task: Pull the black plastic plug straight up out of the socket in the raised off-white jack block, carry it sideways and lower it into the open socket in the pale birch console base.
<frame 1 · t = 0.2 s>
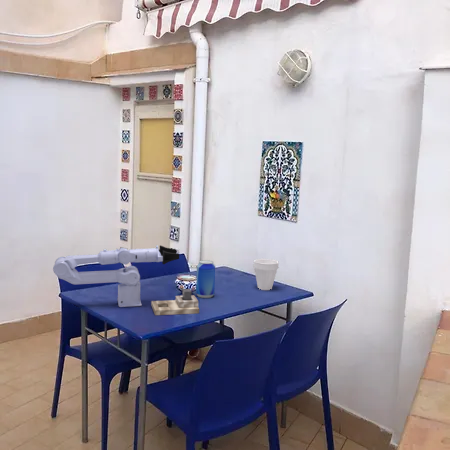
hand: (177, 254, 222), 21 cm above the table, tool horizontal, fingers open, 7 cm apart
beer can: (205, 296, 236), on the table
cup: (264, 288, 253), on the table
plug: (186, 304, 216), point 2 cm above the table, touching console
console: (174, 309, 215), on the table
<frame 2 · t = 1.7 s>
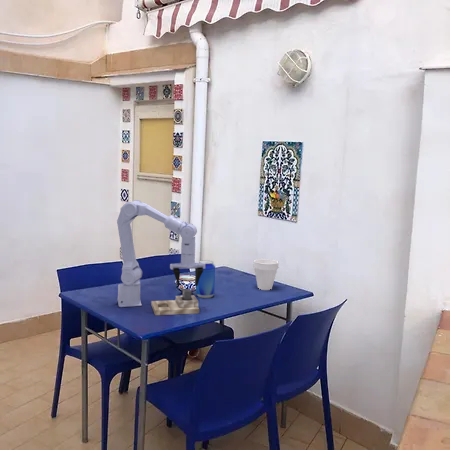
hand: (187, 285, 215), 10 cm above the table, tool pointing down, fingers open, 7 cm apart
nothing on the table moved.
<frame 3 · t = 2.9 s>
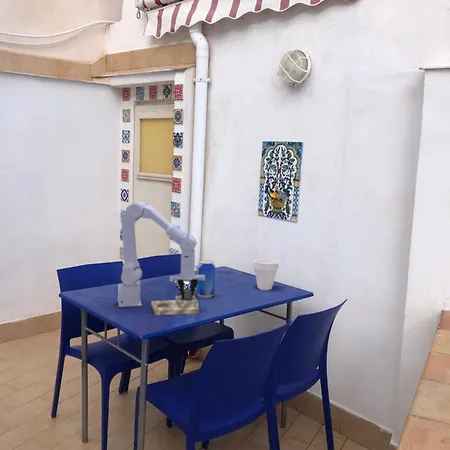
hand: (186, 297, 215), 5 cm above the table, tool pointing down, fingers closed on plug, 3 cm apart
plug: (186, 304, 216), point 2 cm above the table, touching console, gripper
everything else where it was.
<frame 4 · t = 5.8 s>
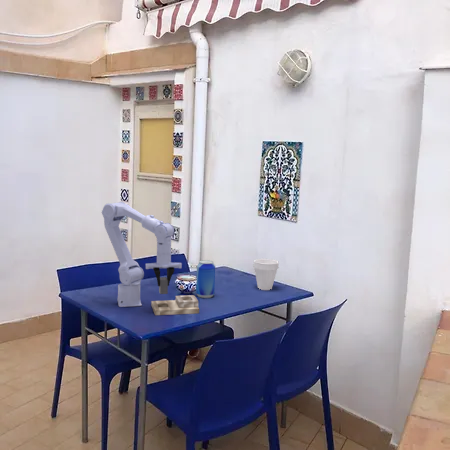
hand: (163, 285, 212), 10 cm above the table, tool pointing down, fingers closed on plug, 3 cm apart
plug: (163, 292, 212), point 7 cm above the table, touching gripper
everything else where it was.
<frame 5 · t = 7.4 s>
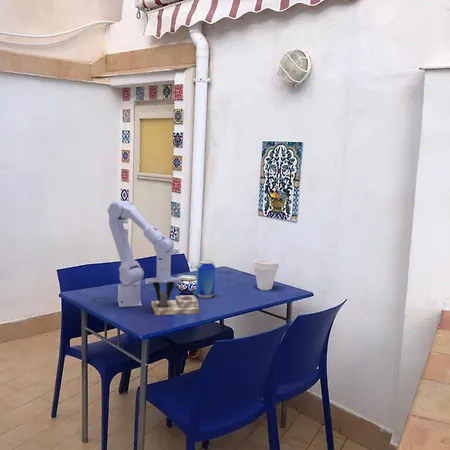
hand: (163, 300, 213), 4 cm above the table, tool pointing down, fingers closed on plug, 3 cm apart
plug: (163, 307, 213), point 1 cm above the table, touching gripper
everything else where it was.
when the fingers open (4 cm above the table, at t = 8.5 s): plug drops 1 cm, resting in console.
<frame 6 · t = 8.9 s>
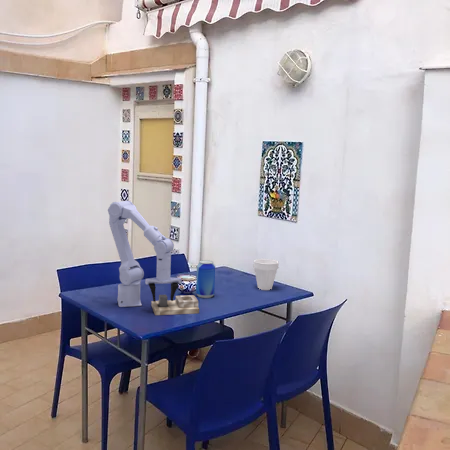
hand: (162, 300, 213), 4 cm above the table, tool pointing down, fingers open, 7 cm apart
plug: (162, 310, 214), resting in console
everything else where it was.
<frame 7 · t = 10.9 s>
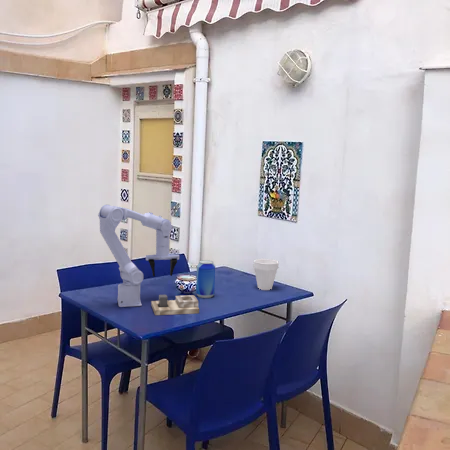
hand: (162, 275, 228), 10 cm above the table, tool pointing down, fingers open, 7 cm apart
nothing on the table moved.
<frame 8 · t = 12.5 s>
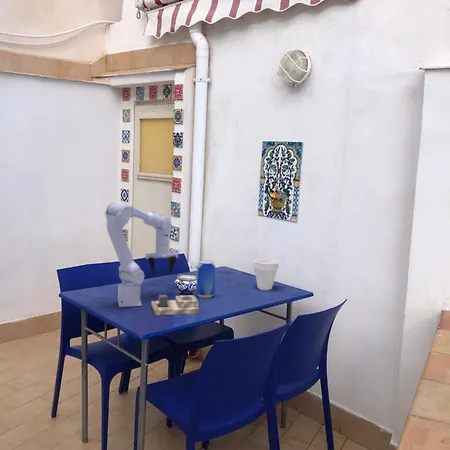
hand: (161, 273, 232), 10 cm above the table, tool pointing down, fingers open, 7 cm apart
nothing on the table moved.
at the end: plug 0.0 cm from the target spot on the console, point 0.0 cm above the console's base; plug tilted 0°; the gripper is holding nothing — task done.
